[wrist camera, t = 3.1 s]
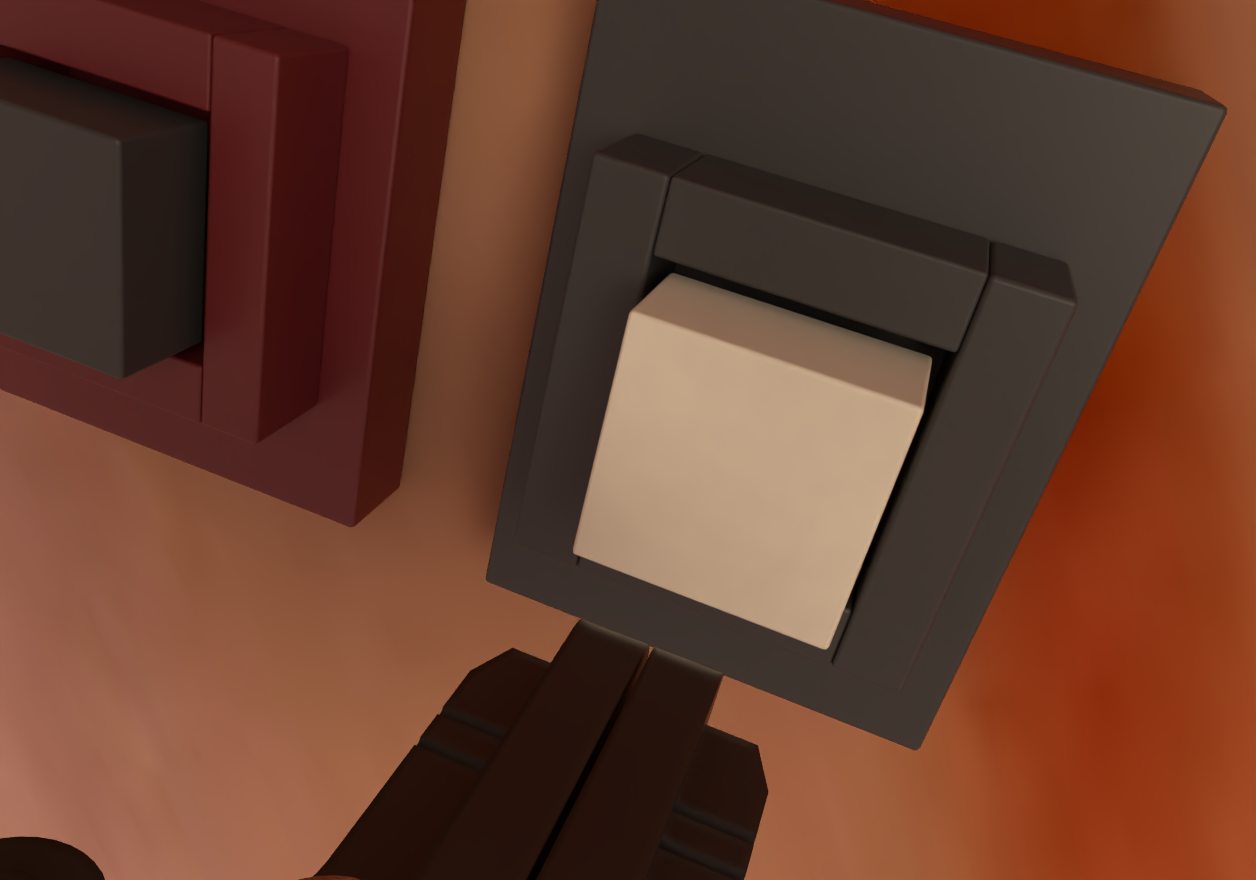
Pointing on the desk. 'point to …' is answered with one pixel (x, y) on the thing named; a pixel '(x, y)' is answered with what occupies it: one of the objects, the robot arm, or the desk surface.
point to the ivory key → (748, 455)
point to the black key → (99, 222)
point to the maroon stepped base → (274, 230)
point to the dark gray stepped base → (848, 294)
